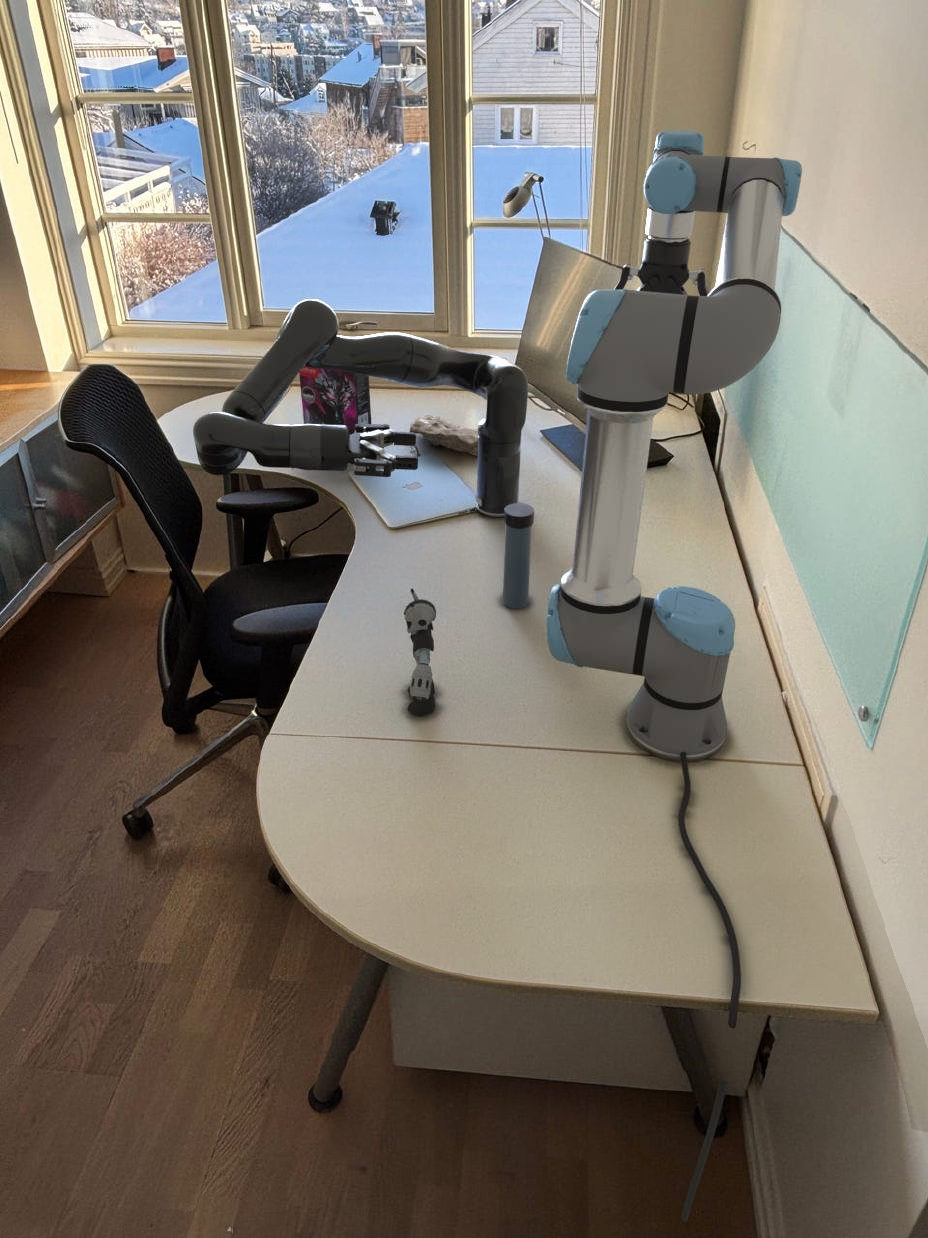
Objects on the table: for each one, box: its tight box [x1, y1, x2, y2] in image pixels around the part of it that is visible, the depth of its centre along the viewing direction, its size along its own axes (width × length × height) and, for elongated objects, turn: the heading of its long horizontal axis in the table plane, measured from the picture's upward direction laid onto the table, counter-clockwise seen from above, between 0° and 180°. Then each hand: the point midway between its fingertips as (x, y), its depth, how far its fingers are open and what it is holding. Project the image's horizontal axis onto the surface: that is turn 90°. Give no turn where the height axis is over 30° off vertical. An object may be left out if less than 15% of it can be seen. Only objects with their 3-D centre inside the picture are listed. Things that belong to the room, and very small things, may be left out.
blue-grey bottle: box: [502, 523, 533, 610], centre depth 168 cm, size 5×5×19 cm
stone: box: [408, 414, 478, 457], centre depth 232 cm, size 21×15×6 cm
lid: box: [503, 502, 535, 528], centre depth 163 cm, size 5×5×2 cm
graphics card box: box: [298, 334, 373, 434], centre depth 226 cm, size 17×7×27 cm, turn 62°
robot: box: [403, 588, 437, 717], centre depth 143 cm, size 20×5×20 cm, turn 3°
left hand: (416, 450), depth 155 cm, fingers open, 8 cm apart
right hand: (652, 364), depth 163 cm, fingers open, 13 cm apart
